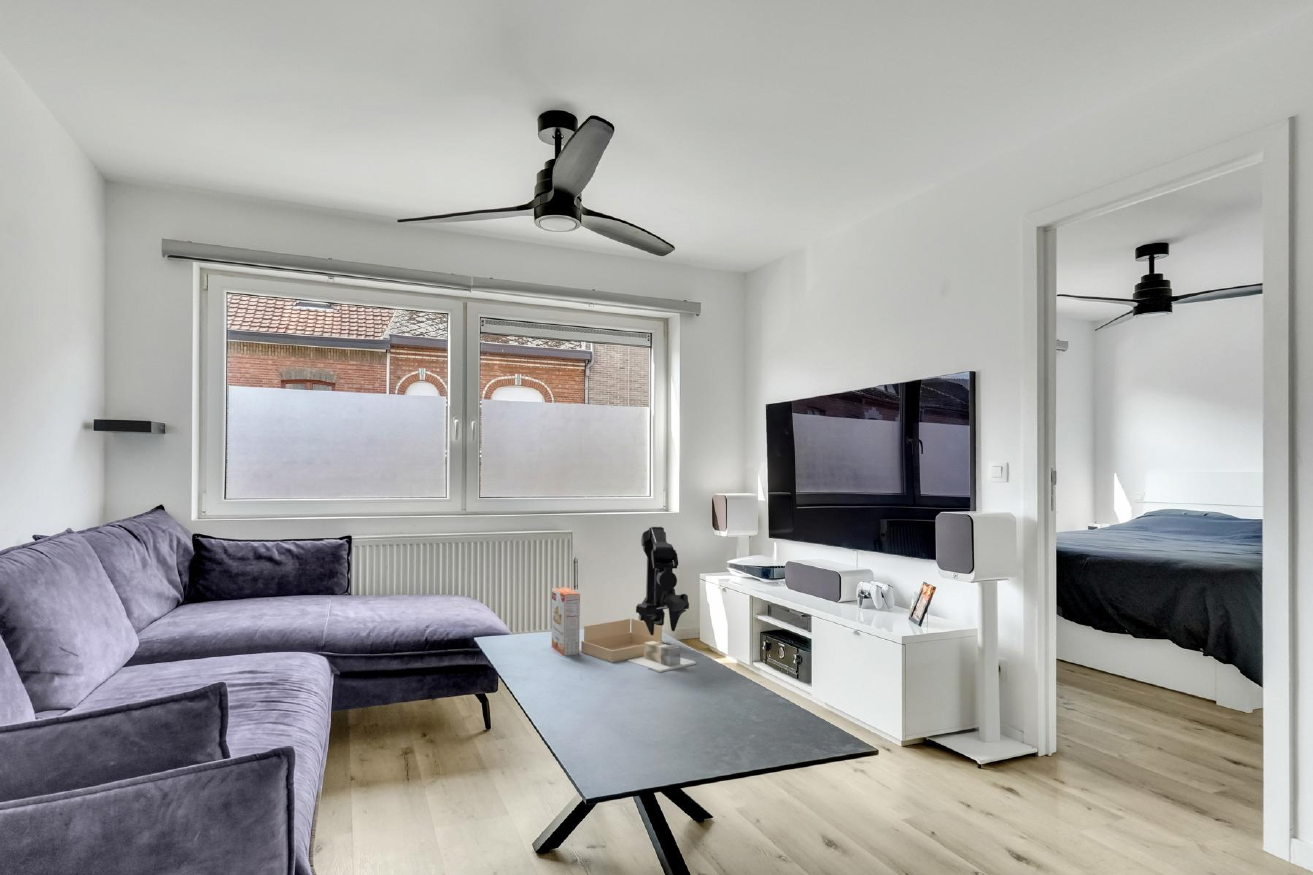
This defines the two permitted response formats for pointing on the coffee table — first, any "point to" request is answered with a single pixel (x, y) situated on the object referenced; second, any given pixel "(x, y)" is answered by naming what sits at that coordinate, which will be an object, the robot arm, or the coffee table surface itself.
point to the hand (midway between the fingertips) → (662, 632)
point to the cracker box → (565, 620)
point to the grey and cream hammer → (662, 653)
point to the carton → (618, 639)
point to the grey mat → (658, 666)
